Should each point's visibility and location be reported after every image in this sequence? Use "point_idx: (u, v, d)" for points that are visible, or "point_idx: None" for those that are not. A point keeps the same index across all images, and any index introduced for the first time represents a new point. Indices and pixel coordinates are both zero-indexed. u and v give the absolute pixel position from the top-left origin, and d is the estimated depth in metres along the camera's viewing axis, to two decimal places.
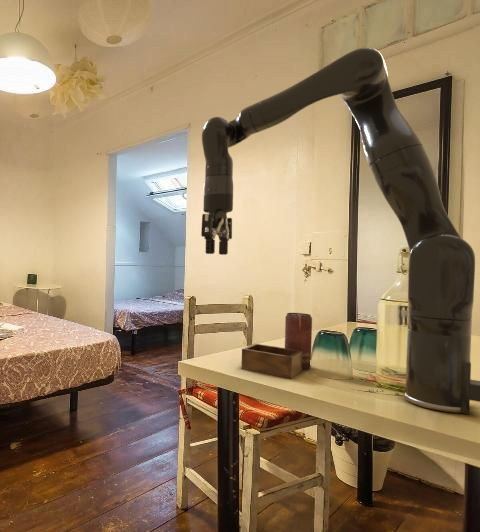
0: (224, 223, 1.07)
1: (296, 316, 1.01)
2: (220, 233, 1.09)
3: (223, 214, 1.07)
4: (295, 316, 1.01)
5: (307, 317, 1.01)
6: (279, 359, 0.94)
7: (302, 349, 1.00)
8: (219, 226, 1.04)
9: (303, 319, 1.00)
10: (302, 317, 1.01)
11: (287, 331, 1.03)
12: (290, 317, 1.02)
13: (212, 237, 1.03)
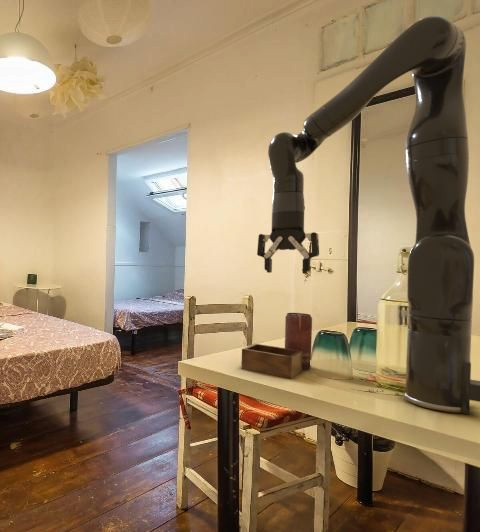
0: None
1: (296, 316, 1.01)
2: None
3: (290, 231, 1.02)
4: (295, 316, 1.01)
5: (307, 317, 1.01)
6: (279, 359, 0.94)
7: (302, 349, 1.00)
8: (274, 245, 1.04)
9: (303, 319, 1.00)
10: (302, 317, 1.01)
11: (287, 331, 1.03)
12: (290, 317, 1.02)
13: (264, 256, 1.06)
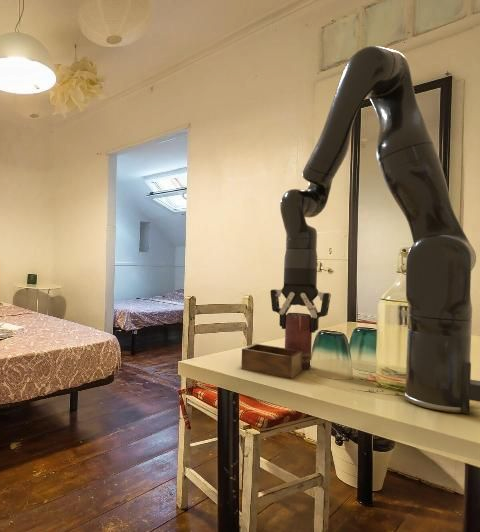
0: None
1: (296, 316, 1.01)
2: None
3: (302, 288, 1.02)
4: (295, 316, 1.01)
5: (307, 317, 1.01)
6: (279, 359, 0.94)
7: (302, 349, 1.00)
8: (286, 300, 1.04)
9: (303, 319, 1.00)
10: (302, 317, 1.01)
11: (287, 331, 1.03)
12: (290, 317, 1.02)
13: (279, 312, 1.05)
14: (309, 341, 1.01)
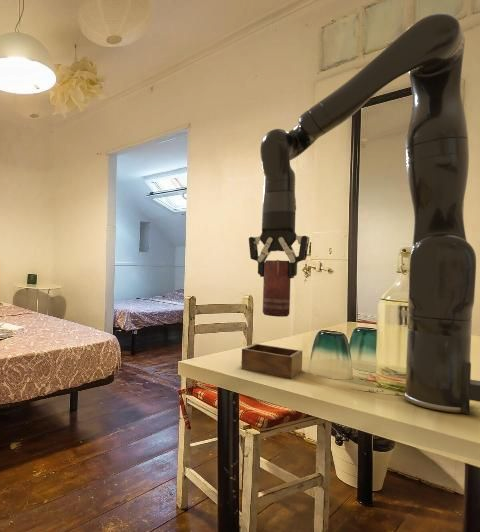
0: None
1: (274, 261, 0.98)
2: None
3: (280, 232, 0.98)
4: (273, 261, 0.98)
5: (285, 262, 0.97)
6: (279, 359, 0.94)
7: (280, 295, 0.97)
8: (264, 246, 1.00)
9: (281, 264, 0.97)
10: (280, 262, 0.97)
11: (265, 278, 1.00)
12: (268, 263, 0.99)
13: (258, 260, 1.02)
14: (287, 287, 0.97)
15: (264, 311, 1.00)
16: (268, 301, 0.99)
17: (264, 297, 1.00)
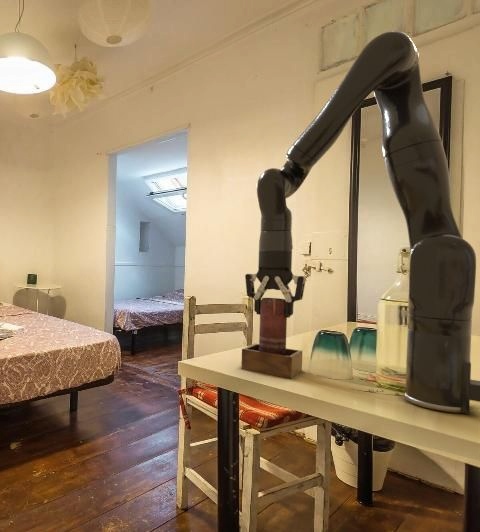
0: None
1: (270, 300, 0.98)
2: None
3: (277, 271, 0.98)
4: (269, 300, 0.98)
5: (282, 301, 0.97)
6: (279, 359, 0.94)
7: (276, 335, 0.97)
8: (260, 284, 1.00)
9: (277, 303, 0.97)
10: (276, 301, 0.97)
11: (261, 316, 1.00)
12: (264, 302, 0.99)
13: (254, 297, 1.02)
14: (284, 326, 0.97)
15: (260, 349, 1.00)
16: (264, 339, 0.99)
17: (260, 335, 1.00)
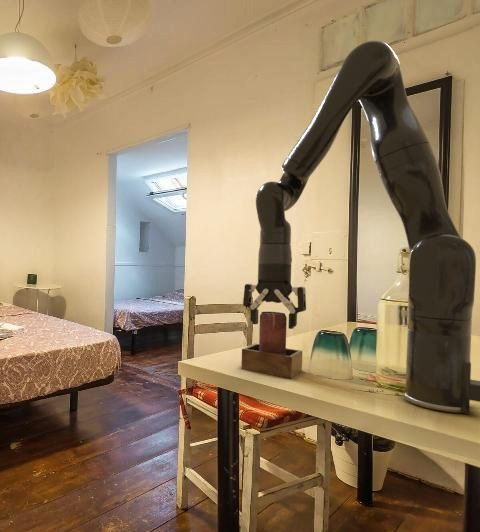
0: None
1: (270, 315, 0.98)
2: None
3: (276, 284, 0.98)
4: (269, 315, 0.98)
5: (281, 316, 0.97)
6: (279, 359, 0.94)
7: (275, 349, 0.97)
8: (260, 297, 1.00)
9: (277, 318, 0.97)
10: (276, 316, 0.97)
11: (261, 330, 1.00)
12: (264, 316, 0.99)
13: (250, 307, 1.03)
14: (283, 341, 0.97)
15: None
16: None
17: (260, 349, 1.00)
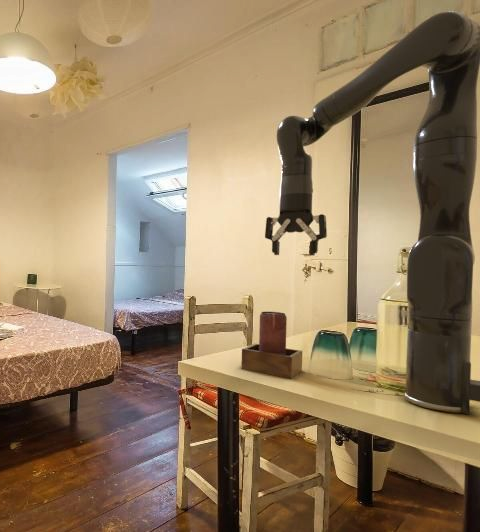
0: None
1: (270, 315, 0.98)
2: None
3: (298, 214, 1.03)
4: (269, 315, 0.98)
5: (281, 316, 0.97)
6: (279, 359, 0.94)
7: (275, 349, 0.97)
8: (282, 227, 1.05)
9: (277, 318, 0.97)
10: (276, 316, 0.97)
11: (261, 330, 1.00)
12: (264, 316, 0.99)
13: (272, 239, 1.07)
14: (283, 341, 0.97)
15: None
16: None
17: (260, 349, 1.00)
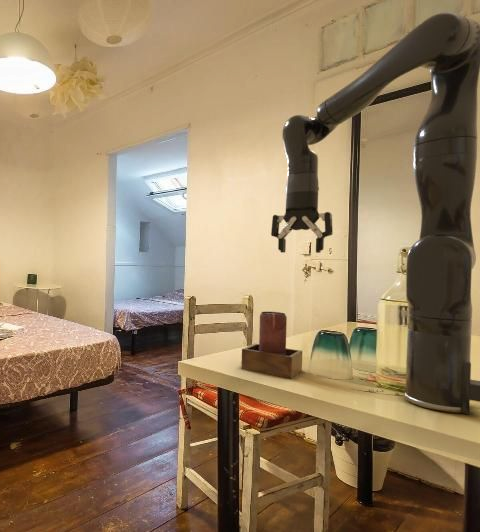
0: None
1: (270, 315, 0.98)
2: None
3: (304, 212, 1.04)
4: (269, 315, 0.98)
5: (281, 316, 0.97)
6: (279, 359, 0.94)
7: (275, 349, 0.97)
8: (288, 225, 1.06)
9: (277, 318, 0.97)
10: (276, 316, 0.97)
11: (261, 330, 1.00)
12: (264, 316, 0.99)
13: (278, 237, 1.09)
14: (283, 341, 0.97)
15: None
16: None
17: (260, 349, 1.00)
